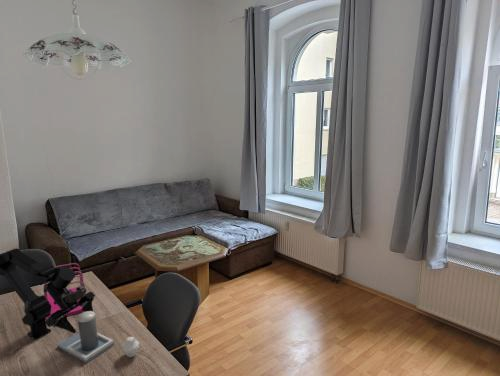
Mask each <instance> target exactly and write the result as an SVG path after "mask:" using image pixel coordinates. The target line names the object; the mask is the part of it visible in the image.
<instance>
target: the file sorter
mask: <svg viewBox="0 0 500 376" xmlns="http://www.w3.org/2000/svg"><path fill="white" fill-rule="evenodd" d="M73 265H76V266H78V267H76V266H73ZM61 266H64V267H68V266H73V267H69V268H70V269H72V270H74V269H77V271H74V272H75V274H76V273H77V274H79V275H75V277H74V278H79V280H78V281H73V282H72V281H71V282H70V284H69V285H73V284H79V283H80V285H79V286H81V285H83V286H84V287H85V283H84V275H83V273H82V270H81V267H80V265H79V264H78V263H76V262H72V263H67V264H61V265H57V266H55V265H54V267H56V268H59V267H61ZM49 282H50V281H48V282H46V283H44V284H43V286H44V285H46V284H48V283H49ZM77 287H78V286H76V287H70V288H67V289H68V290H70V289H71V290H72V291H73V292H74V291H76V290H77ZM85 288H86V287H85ZM85 294H87V292H86V293H84V295H85ZM43 295H44V296H45V297H46V299H47V300H48V301H49V303H50V304H51V314H53V313H54V312H56V311H58V310H61V308H60V307H59V306H58V305H57V304H56V305H55V304H54V302H55V301H54V299H53V298H52V297H51V296H50V294H49V293H48V292H45V293H44V292H43ZM80 299H81V298H80ZM80 299H79V300H80ZM79 300H78V301H79ZM78 301H77V302H78ZM82 308H83V307H82V306H79V307H77V308H75V309H74V310H72V311H70V312H69V313H67V314H66V316H67V317H70V316H74V315H76V314H78V315H79V314H81V313H83V312H84V311H83V310H82ZM51 314H50V315H51ZM64 316H65V315H64ZM48 318H49V316H48V317H46V318H45V319H46V320H47V319H48Z"/></svg>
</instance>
